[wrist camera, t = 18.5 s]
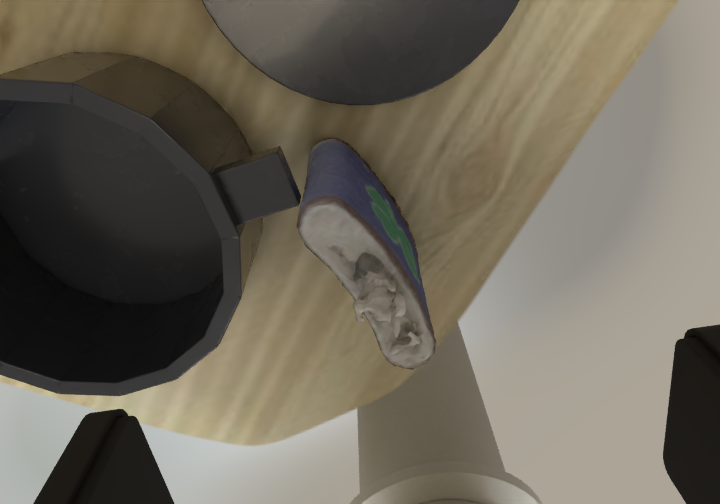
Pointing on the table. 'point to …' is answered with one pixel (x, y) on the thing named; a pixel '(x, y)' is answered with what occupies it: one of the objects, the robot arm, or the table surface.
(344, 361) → the table surface
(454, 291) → the table surface
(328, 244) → the flask
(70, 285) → the pan
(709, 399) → the robot arm
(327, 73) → the pan lid
